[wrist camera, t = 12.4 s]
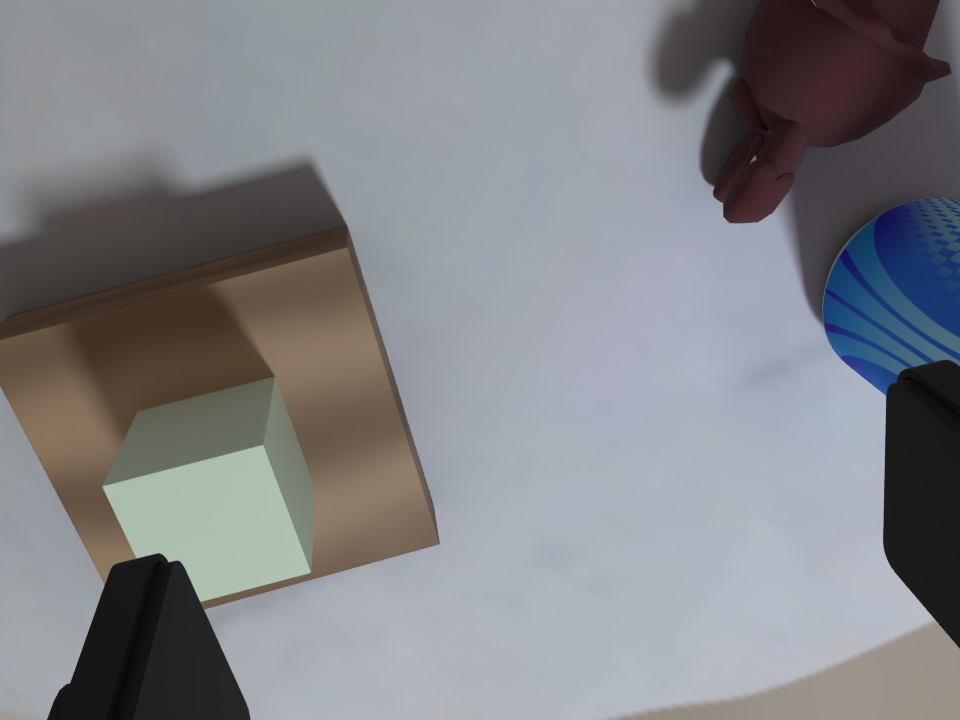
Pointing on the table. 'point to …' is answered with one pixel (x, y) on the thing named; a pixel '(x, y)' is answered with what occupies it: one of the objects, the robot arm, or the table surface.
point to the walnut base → (220, 365)
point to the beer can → (897, 291)
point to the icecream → (819, 87)
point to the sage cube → (218, 489)
